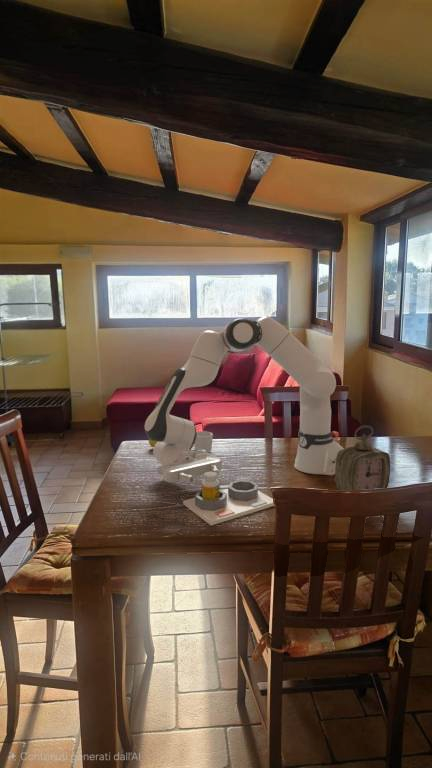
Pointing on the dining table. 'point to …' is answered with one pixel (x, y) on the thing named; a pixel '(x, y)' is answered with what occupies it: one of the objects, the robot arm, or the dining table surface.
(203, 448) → the cup
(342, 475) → the tabletop clock
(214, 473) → the supplement bottle
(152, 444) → the lemon
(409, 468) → the dining table surface
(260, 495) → the socket board
